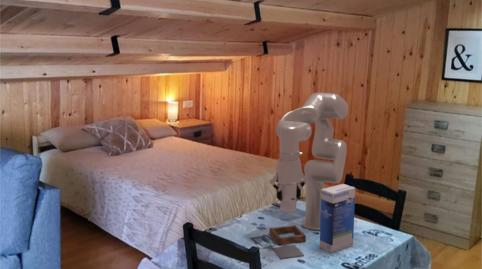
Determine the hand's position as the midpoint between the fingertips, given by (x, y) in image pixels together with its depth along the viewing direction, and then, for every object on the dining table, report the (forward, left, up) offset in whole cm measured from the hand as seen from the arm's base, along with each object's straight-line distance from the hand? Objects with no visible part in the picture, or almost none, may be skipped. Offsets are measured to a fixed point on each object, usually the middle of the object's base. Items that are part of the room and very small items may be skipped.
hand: (288, 198), depth 195 cm
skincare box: (0, 0, -5) cm, 5 cm away
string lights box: (-22, 0, -24) cm, 32 cm away
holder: (-5, -14, -23) cm, 28 cm away
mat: (0, 0, -23) cm, 23 cm away
